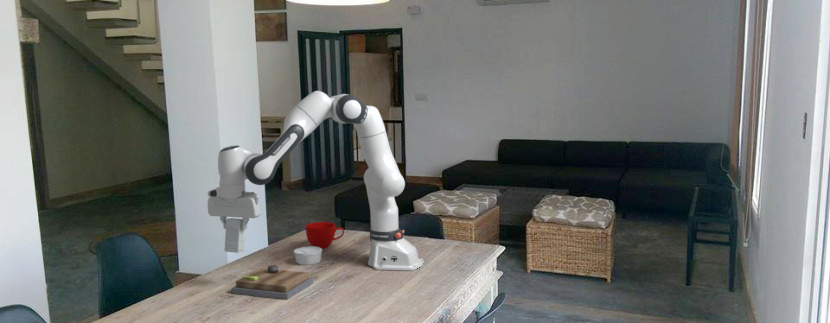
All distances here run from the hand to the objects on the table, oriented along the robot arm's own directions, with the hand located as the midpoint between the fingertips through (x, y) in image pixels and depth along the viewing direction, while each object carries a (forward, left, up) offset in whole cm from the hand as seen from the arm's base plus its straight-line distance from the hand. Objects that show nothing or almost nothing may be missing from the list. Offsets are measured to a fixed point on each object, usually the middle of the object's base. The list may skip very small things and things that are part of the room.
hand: (235, 228), depth 226 cm
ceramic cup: (-7, -55, -21) cm, 59 cm away
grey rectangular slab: (-15, +1, -20) cm, 26 cm away
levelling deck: (-15, +1, -18) cm, 24 cm away
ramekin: (-11, -32, -21) cm, 40 cm away
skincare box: (0, +1, -9) cm, 9 cm away
